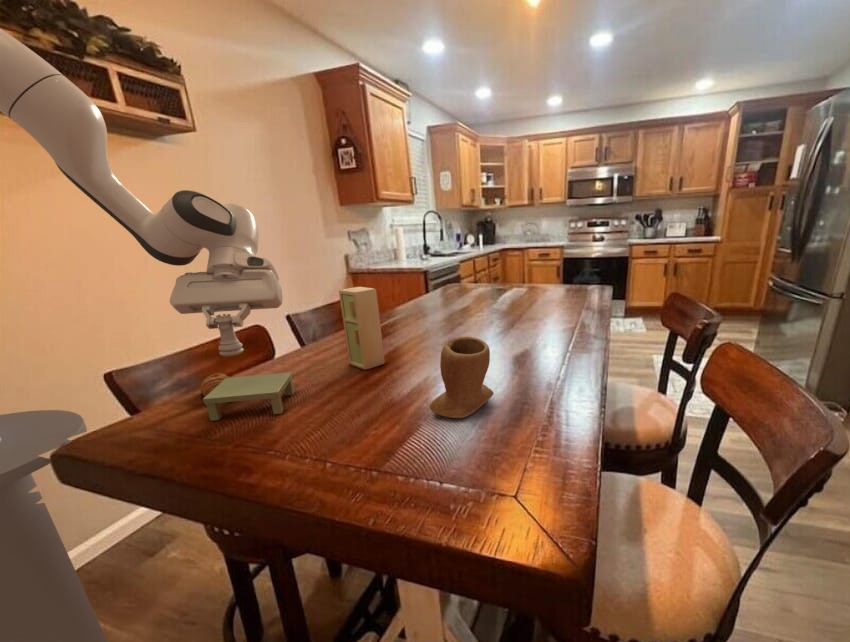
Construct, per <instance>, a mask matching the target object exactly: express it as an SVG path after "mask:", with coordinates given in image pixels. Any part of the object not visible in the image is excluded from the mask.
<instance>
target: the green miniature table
mask: <svg viewBox="0 0 850 642" xmlns="http://www.w3.org/2000/svg"><path fill="white" fill-rule="evenodd" d="M229 377H230V376H229ZM293 381H294V380H293V372H292V371H291V372H290V371H289V372H278V373H268V374H267V373H266V374H256V375H243V376H242V375H241V376H231V377H230V378H226V379H225V380H223V381H222V382H221V383H220V384H219V385H218V386H217V387H216V388H215V389H213V390H212V391H211V392H210V393H209V394H208V395H207V396H206V397H205V396H204V397H203V398H202V401H203V405H206V409H207V414H208V417H209V421H211V422H215V421H220V420H221V418H223V415H222V412H221V408H220V404H223V403H232V402H233V403H234V402H235V403H236V402H244V401H253V400H254V401H255V400H265V399H266V400H267V399H270V403H271V408H272V414H273V415H282V414H283V412H284V405H283V401H282V396H281V395H282V394H283V392H284V393H285V396H286V397H287V396H294V394H295V387H294V383H293Z"/></svg>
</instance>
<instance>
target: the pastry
mask: <svg viewBox="0 0 850 642" xmlns="http://www.w3.org/2000/svg"><path fill="white" fill-rule="evenodd" d="M226 378H230V376H228V375H226V374H224V373H213V374H211V375H209V376H206V377H205V379H203V381H202V383H201V384H200V387H199V390H200V391H199V392H200V393H201V394H202V395H203V396H204V398H205V397H206V396H207V395H208V394H209V393H210V392H211V391H212V390H213V389H215V388H216V387H217V386H218V385H219V384H220V383H221V382H222V381H223V380H225V379H226Z"/></svg>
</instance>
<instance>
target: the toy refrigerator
mask: <svg viewBox="0 0 850 642" xmlns="http://www.w3.org/2000/svg"><path fill="white" fill-rule="evenodd" d="M338 295H339V301H340V303H339V304H340V308H341V315H342V322H343V329H344V335H345V342H346V349H347V350H346V351H347V355H348V363H349V365H351V366H353V367H356V368H359V369H361V370H364V371H366V370H369V369H372V368H375V367H379V366H382V365H385V363H386V360H385V353H384V352H385V351H384V344H383V337H382V327H381V321H380V320H381V319H380V311H379V303H378V302H379V301H378V293H377V289H376V288H373V287H365V286H354V287H348V288H342V289H339V290H338Z"/></svg>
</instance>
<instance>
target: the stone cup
mask: <svg viewBox="0 0 850 642" xmlns="http://www.w3.org/2000/svg"><path fill="white" fill-rule="evenodd" d="M439 362H440V364H439V366H440V367H439V368H440V376H441V379H442V381H443V384H444V388H445V391H444V392H443V393H441V394H440V395H439V396H437V397H435V398H434V399H433V400H432V401H431V402H430V403H429V405H428V407H429V410H430V411H431V412H433V413H434V414H436V415H439V416H442V417H445V418H449V419H451V418H453V419H463V418H466V417H468V416H470V415H472V414H474V413H475V412H476V411H478V410H479V409H480V408H481V407H483V406H484V404H486V403H487V401H489V400H490V398H492V397H493V396H494V391H493V390H492V388H489V387H488V386H487V385H485V384H484V381H485V378H486V375H487V372H488V370H489V368H490V367H489V366H490V362H491V352H490V346H489V345H488V343H486V341H484V340H482V339H480V338H478V337H474V336H458V337H454V338H451V339H449V340H448V341H447V342H446V343H445V344H444V345H443V346H442V349H441V351H440V361H439Z"/></svg>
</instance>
